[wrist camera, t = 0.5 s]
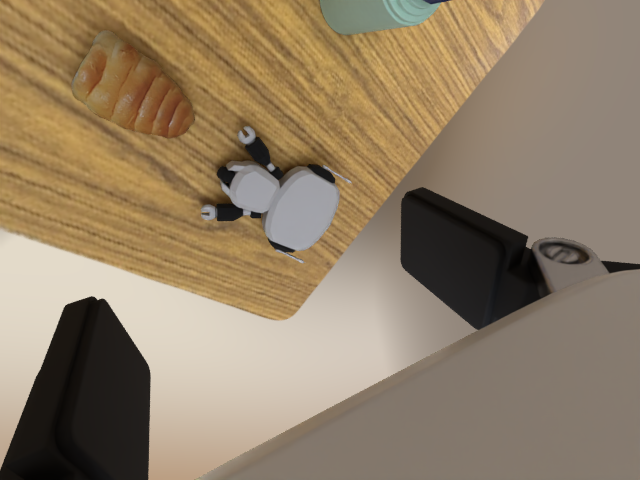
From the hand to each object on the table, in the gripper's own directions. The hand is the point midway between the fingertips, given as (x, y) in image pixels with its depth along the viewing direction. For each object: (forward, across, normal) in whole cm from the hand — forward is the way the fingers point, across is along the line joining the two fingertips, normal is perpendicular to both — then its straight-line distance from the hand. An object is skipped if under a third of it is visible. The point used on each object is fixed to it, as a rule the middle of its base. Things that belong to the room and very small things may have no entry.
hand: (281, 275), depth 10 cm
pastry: (+29, +4, -4) cm, 30 cm away
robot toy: (+29, -6, +9) cm, 31 cm away
